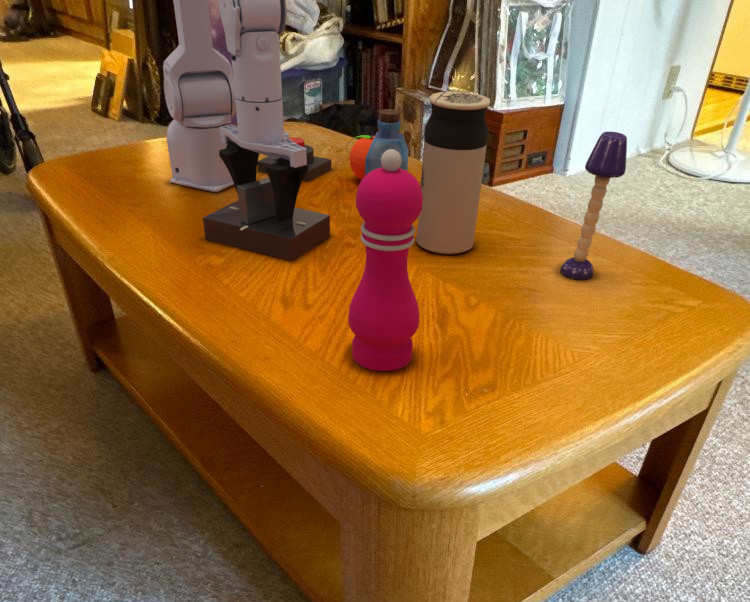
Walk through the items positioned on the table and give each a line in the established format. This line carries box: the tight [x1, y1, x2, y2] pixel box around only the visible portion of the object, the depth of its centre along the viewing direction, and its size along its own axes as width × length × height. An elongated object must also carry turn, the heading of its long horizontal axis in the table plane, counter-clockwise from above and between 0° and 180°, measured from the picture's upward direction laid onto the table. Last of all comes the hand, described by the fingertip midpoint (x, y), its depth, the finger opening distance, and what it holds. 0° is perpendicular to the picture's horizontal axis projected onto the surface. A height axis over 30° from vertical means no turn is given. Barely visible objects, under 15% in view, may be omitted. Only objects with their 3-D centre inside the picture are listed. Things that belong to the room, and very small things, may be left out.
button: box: [289, 136, 306, 148], centre depth 114 cm, size 4×4×2 cm
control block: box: [257, 144, 332, 183], centre depth 116 cm, size 10×8×4 cm
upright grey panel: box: [236, 177, 277, 224], centre depth 91 cm, size 8×2×5 cm, turn 138°
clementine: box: [345, 134, 375, 181], centre depth 112 cm, size 8×7×7 cm
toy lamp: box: [560, 131, 628, 281], centre depth 83 cm, size 5×5×17 cm
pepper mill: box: [347, 149, 423, 372], centre depth 65 cm, size 7×7×20 cm
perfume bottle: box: [365, 108, 410, 176], centre depth 105 cm, size 6×6×12 cm
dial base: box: [202, 200, 331, 262], centre depth 93 cm, size 14×12×3 cm
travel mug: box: [415, 91, 491, 255], centre depth 89 cm, size 8×8×18 cm
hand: (266, 211), depth 92 cm, fingers open, 7 cm apart
